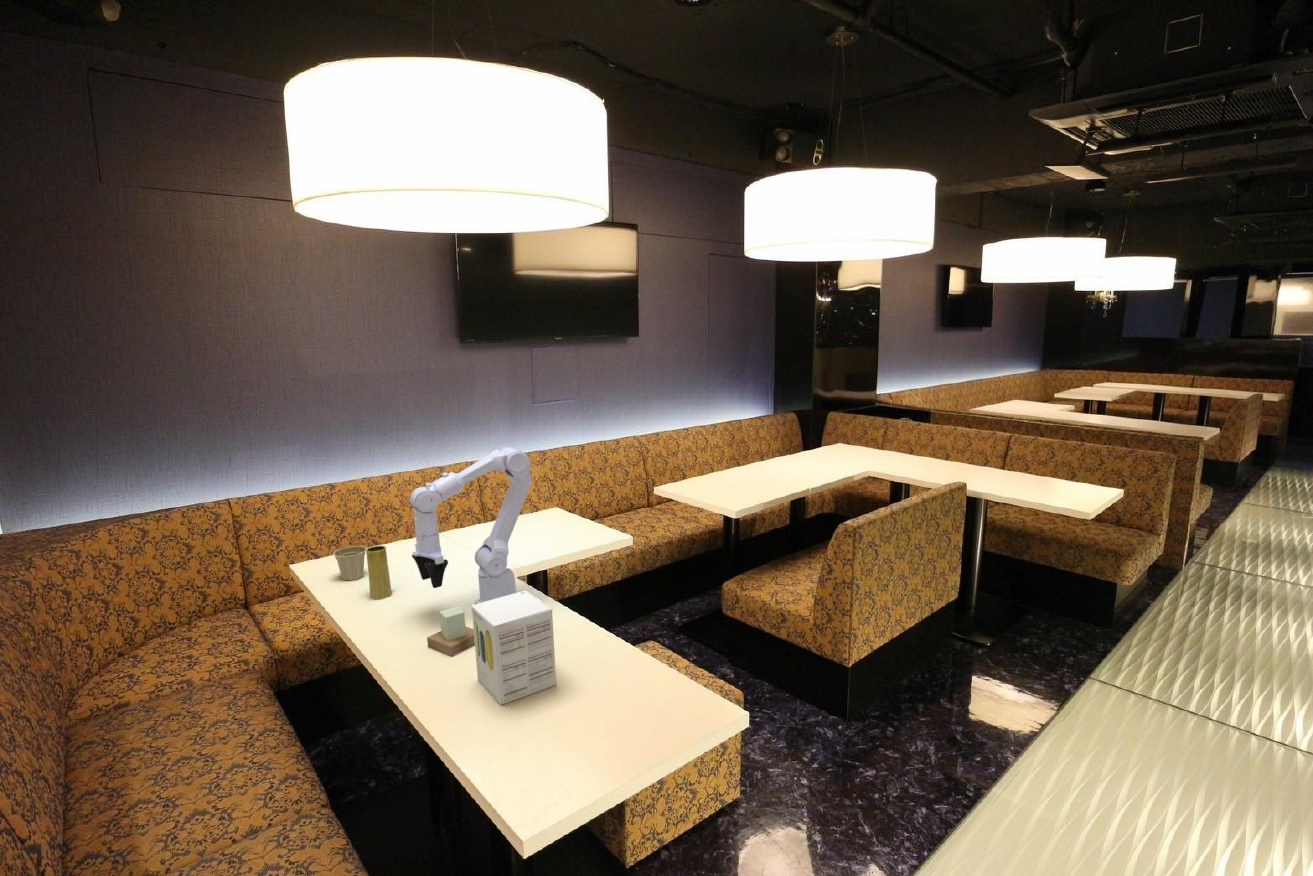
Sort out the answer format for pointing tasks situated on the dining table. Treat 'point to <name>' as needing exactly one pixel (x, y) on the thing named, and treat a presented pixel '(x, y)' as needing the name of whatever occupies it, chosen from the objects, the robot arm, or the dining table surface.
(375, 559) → the vase
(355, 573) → the flower pot
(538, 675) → the supplement box
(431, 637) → the walnut slab
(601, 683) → the dining table surface
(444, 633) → the sage block
